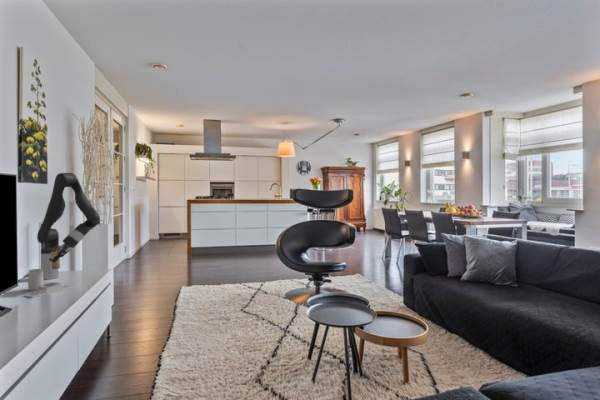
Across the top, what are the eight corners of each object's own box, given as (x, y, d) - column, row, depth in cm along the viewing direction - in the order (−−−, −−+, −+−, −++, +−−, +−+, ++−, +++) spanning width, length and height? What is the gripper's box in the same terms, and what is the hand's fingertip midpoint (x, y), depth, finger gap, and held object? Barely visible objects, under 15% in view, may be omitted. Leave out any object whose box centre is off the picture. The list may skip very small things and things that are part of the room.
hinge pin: (50, 268, 212) (49, 252, 211) (57, 267, 215) (56, 250, 215) (54, 269, 210) (53, 252, 210) (61, 267, 214) (60, 251, 213)
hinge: (24, 296, 200) (23, 289, 200) (66, 285, 220) (66, 279, 220) (33, 298, 196) (32, 290, 196) (75, 287, 216) (74, 280, 216)
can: (45, 289, 213) (44, 269, 213) (29, 292, 208) (28, 271, 207) (42, 287, 218) (41, 267, 218) (27, 289, 213) (26, 269, 212)
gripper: (64, 234, 222) (42, 256, 213) (72, 235, 213) (49, 259, 204) (74, 241, 226) (53, 263, 218) (82, 243, 217) (60, 266, 208)
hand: (51, 261), depth 211 cm, fingers closed on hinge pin, 4 cm apart
